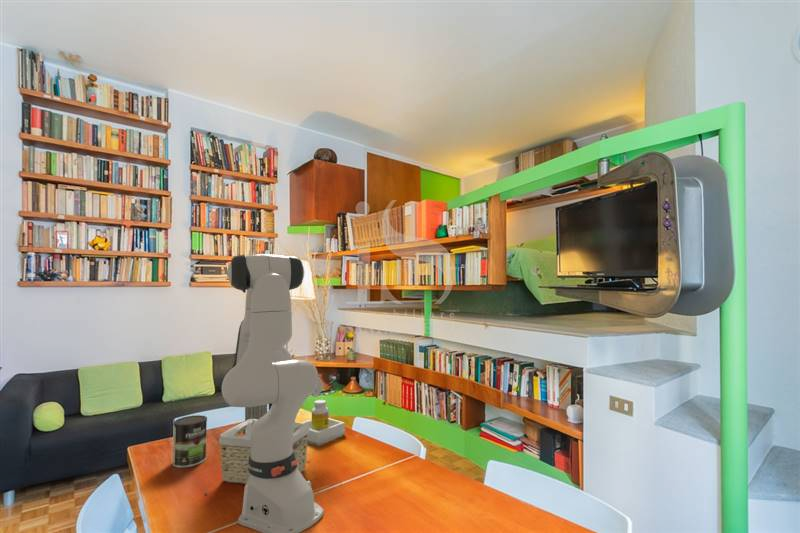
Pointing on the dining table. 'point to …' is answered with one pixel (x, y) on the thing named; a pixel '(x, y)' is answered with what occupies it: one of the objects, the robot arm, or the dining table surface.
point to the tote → (325, 432)
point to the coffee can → (189, 441)
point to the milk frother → (256, 411)
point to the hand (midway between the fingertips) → (306, 394)
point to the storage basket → (239, 447)
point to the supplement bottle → (320, 415)
